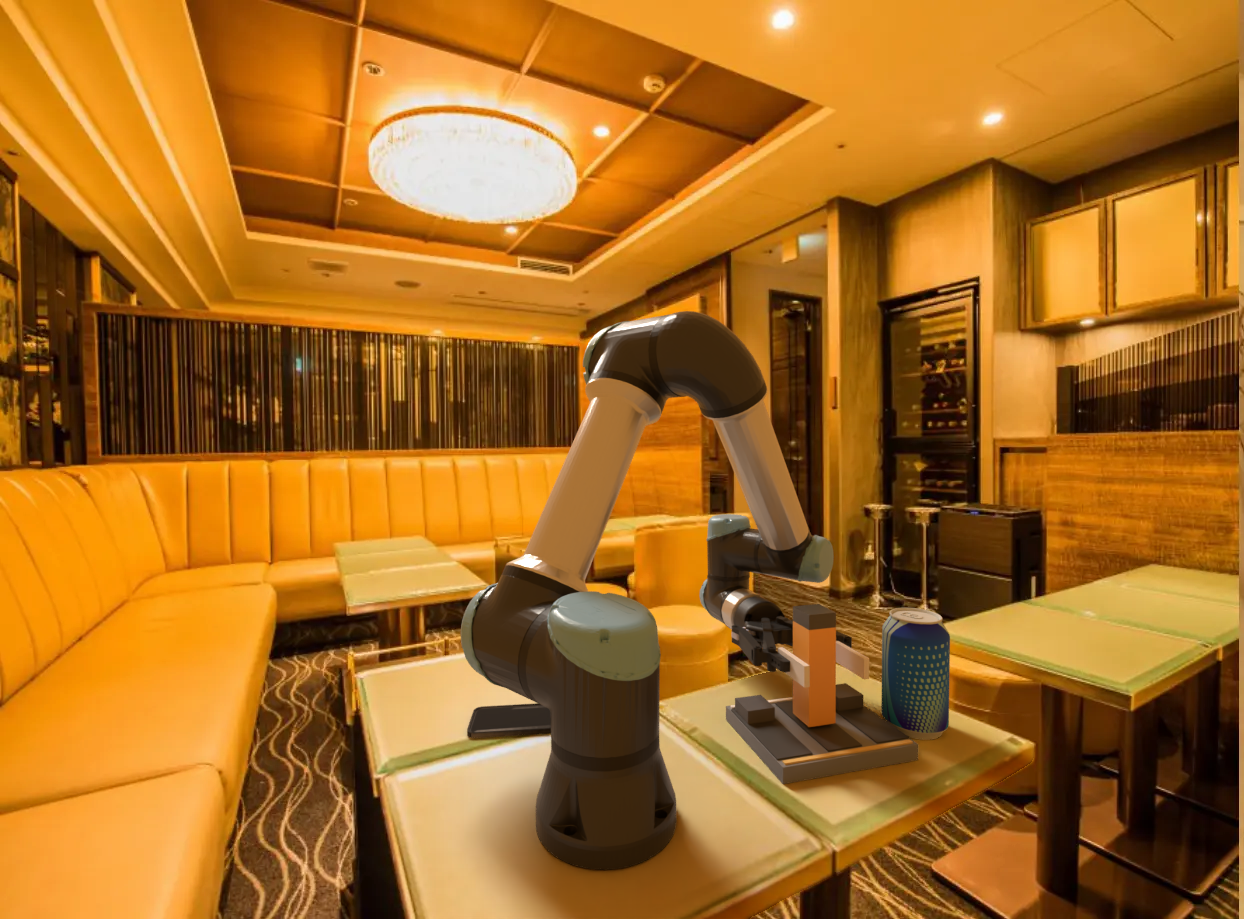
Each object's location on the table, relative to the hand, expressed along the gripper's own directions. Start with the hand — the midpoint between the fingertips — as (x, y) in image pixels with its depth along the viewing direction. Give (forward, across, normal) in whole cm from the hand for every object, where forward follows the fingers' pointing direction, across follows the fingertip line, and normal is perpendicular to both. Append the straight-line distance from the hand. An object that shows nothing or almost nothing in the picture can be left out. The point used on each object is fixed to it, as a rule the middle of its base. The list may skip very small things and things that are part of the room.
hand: (837, 672), depth 73 cm
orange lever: (-5, 0, -8) cm, 10 cm away
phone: (-20, +38, -12) cm, 45 cm away
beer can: (-4, -15, -11) cm, 19 cm away
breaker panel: (-5, 0, -11) cm, 12 cm away
